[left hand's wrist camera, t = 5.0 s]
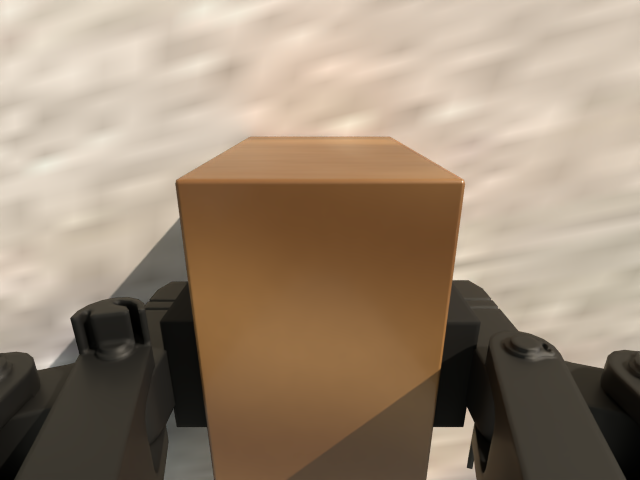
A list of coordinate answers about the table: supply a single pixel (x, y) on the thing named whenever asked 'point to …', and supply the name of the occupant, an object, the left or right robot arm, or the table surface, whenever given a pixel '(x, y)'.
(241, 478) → the beam
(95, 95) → the table surface
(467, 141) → the table surface
